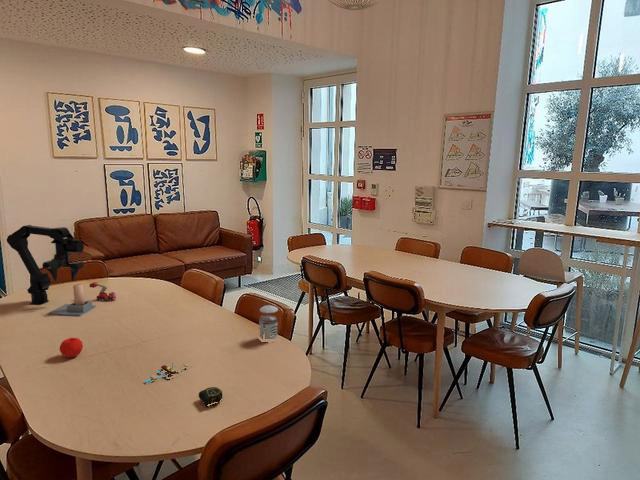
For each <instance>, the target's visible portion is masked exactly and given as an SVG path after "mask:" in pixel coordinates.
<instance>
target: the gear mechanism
mask: <svg viewBox="0 0 640 480" xmlns="http://www.w3.org/2000/svg"><path fill="white" fill-rule="evenodd" d="M183 365H184V366H185V367H189V366H190V365H189V363H187V362H186V363H183V364H182V366H183ZM173 366H174V362H173V361H172V362H171V366H170V367H172V368H170V367H169V366H167V365H166V364H164V365H161V367H160V368H161V370H163V369H164V370H165V371H167V372H168V373H170V374H175V373H176V371H175V370H173ZM161 370H158V371H157V373H158V372H159V373H160V374H162V375H163V376H165V377H168V376H167V375H165V374H166V373H162V372H160V371H161ZM168 373H167V374H168ZM176 374H177V373H176ZM176 374H175V375H176ZM159 376H161V375H157V376H156V375H155V374H152V375H150V378H151V379H147V380H144V381H143V383H144V382H145V383H147V382H150V381H152V380H154V381H155V380H157V379H158V378H159ZM158 380H159V379H158ZM146 381H147V382H146ZM154 381H153V382H154ZM145 383H144V384H145ZM150 383H151V382H150ZM147 384H148V383H147Z"/></svg>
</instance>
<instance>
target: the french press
mask: <svg viewBox="0 0 640 480" xmlns="http://www.w3.org/2000/svg"><path fill="white" fill-rule="evenodd" d="M266 287H267V289H271V288H272V285H271V284H267V286H266ZM259 311H260V313H263V314H268V315H263V314H261V316H260V317H259V320H258V322H259V323H258V329H259V336H260V337H261V338H262V339H263V334H264V333H265V339H275V338H277V336H278V318H277V317H276V316H274V315H270V314H274V313H277V312H278V311H279V308H278V307H276V306H274V305H270V304H268V305H263V306H262V307H261V308H259ZM271 333H273V334H271ZM270 334H271V335H270ZM272 335H274V336H272ZM270 336H272V337H270Z"/></svg>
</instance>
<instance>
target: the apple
mask: <svg viewBox="0 0 640 480" xmlns="http://www.w3.org/2000/svg"><path fill="white" fill-rule="evenodd" d="M83 348H84V345H83V341H82V340H81V339H79V338H78V337H70V338H66V339H64V340H63V341H62V342H61V343H60V345H59V348H58V350H59V352H60V354H61V355H63V356H65V357H67V358H75V357H77V356H79V355H80V354H81V352H82V351H83Z"/></svg>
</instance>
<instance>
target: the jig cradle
mask: <svg viewBox="0 0 640 480" xmlns="http://www.w3.org/2000/svg"><path fill="white" fill-rule="evenodd" d="M84 301H85V305H83V306H75V301H73V302H72V303H64V304H63V305H60V306H59V307H57V308H55V309H53V310H51V311H50V312H48V313H47V314H48V316H63V317H64V316H65V317H82V316H83V315H85V314H86V313H88V312H90V311H92V310H93V309H95V308H96V304H93V301H90V300H89V301H88V300H84Z"/></svg>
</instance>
